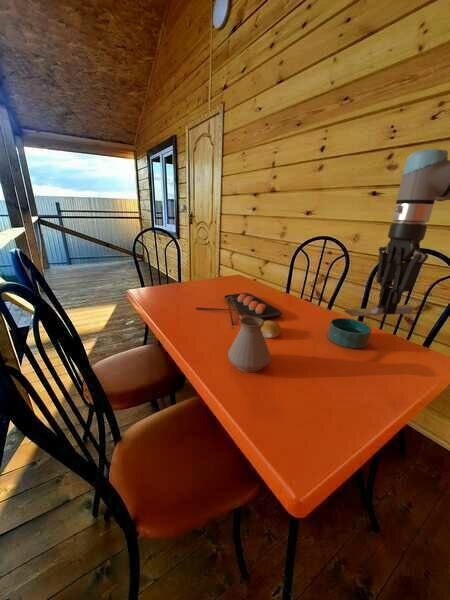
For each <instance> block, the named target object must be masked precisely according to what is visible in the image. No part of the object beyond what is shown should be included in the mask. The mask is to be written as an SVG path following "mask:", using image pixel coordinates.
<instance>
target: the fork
mask: <svg viewBox="0 0 450 600" xmlns="http://www.w3.org/2000/svg"><path fill="white" fill-rule="evenodd" d="M385 307H386V305H377V304H374V305H372V307H371V308H345V309H344V313H346V314H348V315H349V316H350V317H371V316H372V317H373V316H374V317H375V316H379V315H380V316H384V315H388V314H384V312H385ZM413 311H414V306H413V305H410V304H398V305H397V308H396V312H395V314H394V315H412V314H413Z"/></svg>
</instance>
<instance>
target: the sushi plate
mask: <svg viewBox="0 0 450 600" xmlns="http://www.w3.org/2000/svg"><path fill="white" fill-rule="evenodd" d="M230 296H233V299H234V300H235V303H236V304H237V305H238V307H239V310H240V312H241V313H244V314H245V315H246V316H247V317H248V316H251V317H257V318H261V319H267V318H273V317H278V316H281V315H283V312H282V311H281V310H280V309H279V308H277V307H275V306H273V305H271V304H269V303H268V302H266V301H264V300H262V299H261V298H259V297H258V296H255V295H254V294H252V293H249V292H242V293H231V294H225V295H224V296H223V297H224V299H225V300H226V301H227V304H228V308H215V307H214V308H212V307H195V309H196V310H204V311H205V310H208V311H229V316H230V322H231V326H234V319H233V314H232V311H233V312H234V311H235V312H236V310H235V308H233V309H231V306H230V304H231V305H233V303H232V302H231V301H228V300H231V299H230ZM228 297H229V298H228ZM227 298H228V300H227Z"/></svg>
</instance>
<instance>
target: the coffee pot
mask: <svg viewBox="0 0 450 600" xmlns="http://www.w3.org/2000/svg"><path fill="white" fill-rule="evenodd" d="M228 298H229V297H228ZM228 298H227V300H226V301H227V302H228V301H231V302H232V303H233V304H232V303H231V304H232V306H233V309H234V310H236V311H235V312H236V314H237V315H238V317H239V320H238V322H239V325H240V326H241V327H240V329H239V331H238V333H237V335H236V336H235V338H234V341H233V342H232V344H231V347H230V348H229V349H228V352H227V356H228V357H227V358H228V359H229V361H230V363H231V364H232V365H234V367H235V368H236V369H238V370H239V371H242V372H245V373H255V372H259V371H261V370H262V369H264V368H266V367H267V366H268V364H270V361H271V352H270V350H269V347H268V344H267V341H266V338H265V337H264V336H263V333H262V331H261V327H262V326H263V325H264V321H265V320H264V318H257V317H251V316H248V315H247V316H243V315H242V311H240V309H239V307H238V305H237V304H236V303H235V300H234V299H233V296H230V299H231V300H228Z"/></svg>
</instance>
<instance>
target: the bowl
mask: <svg viewBox="0 0 450 600" xmlns="http://www.w3.org/2000/svg"><path fill="white" fill-rule="evenodd" d="M371 335H372V328H371V326H370V325H368V324H367V323H365V322H362V321H360V320H357V319H353V318H347V317H336V318H332V319H331V320H330V321H329V324H328V329H327V339H329V340H330V341H331V342H332V343H335V344H336V345H338V346H340V347H344V348H347V349H354V350H355V349H363V348H367V347H368V345H369V342H370V339H371Z"/></svg>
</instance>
